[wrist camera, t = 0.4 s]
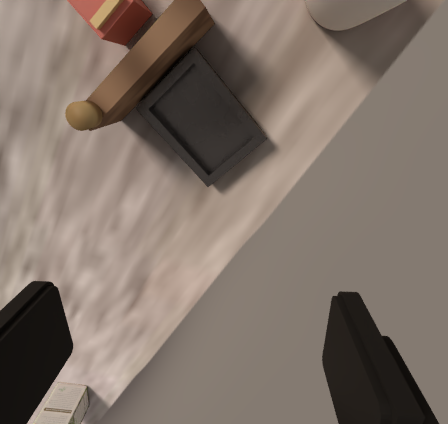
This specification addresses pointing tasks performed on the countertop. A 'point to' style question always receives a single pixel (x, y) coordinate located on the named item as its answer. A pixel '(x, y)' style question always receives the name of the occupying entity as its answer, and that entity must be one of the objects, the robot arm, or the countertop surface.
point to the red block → (113, 17)
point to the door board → (143, 66)
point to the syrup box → (65, 405)
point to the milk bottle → (347, 11)
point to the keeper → (201, 118)
